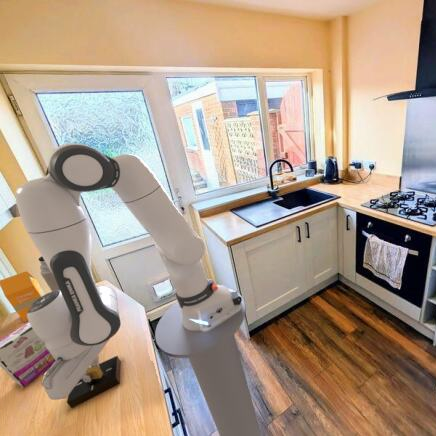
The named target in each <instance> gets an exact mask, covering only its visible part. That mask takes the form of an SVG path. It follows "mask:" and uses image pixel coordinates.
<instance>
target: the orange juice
mask: <svg viewBox="0 0 436 436" xmlns="http://www.w3.org/2000/svg"><path fill="white" fill-rule="evenodd" d="M0 288H1V290H2V293H3V295H4V297H5V298H6V300H7V301H8V302H9V304H10V305H11V307H12V308H13V309H14V311H15V312H16V313H17V315H18V316H19V317H20V318H21V320H22V321H23V323H26V322H27V321H28V318H27V312H28V309H29V308H30V306H31V305H32V304H33V303H34V302H35V301H36V300H37V299H39V298H40V297H42V296H43V295H45V294H46V293H45V291H44V290H43V288H42V287H41V285H40V284H39V282H38V281H37V279H36V278H35V277H34V276H33V275H32V274H30V272H28V271H27V270H25V271H23V272H20V273H17V274H15V275H12V276H8V277H6V278H2V279H0ZM28 322H29V321H28Z"/></svg>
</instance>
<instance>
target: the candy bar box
mask: <svg viewBox="0 0 436 436" xmlns="http://www.w3.org/2000/svg"><path fill="white" fill-rule="evenodd" d="M55 361H56V360H55V359H54V358H53V356H52V355H51V353H50V352H49V351H48V349H47V348H46V346H45V342H44V340H42V339H41V338H39V337H38V336H37V335H36V333H35V332H34V330H33V328H32V327H31V325H30V323H29V321H28V322H27V323H26V322H25V324H23V325H22V326H20V327H18V328H17V329H16V330H14V331H12V332H11V333H9V334H8V335H5V337H3V338H1V339H0V367H1V369H2V370H3V371H4V372H6V374H7V375H8V376H9V377H10V379H12V380H13V381H14V383H15V384H17V385H19V386H21V387H23V388H26V387H28V386H29V385H30V384H31V383H32V382H34V381H35V380H36V379H38V377H39V376H41V375H42V374H43V373H45V372H46V371H47V370H48V369H49V368H50V367H51V366H52V364H53V363H54V362H55Z"/></svg>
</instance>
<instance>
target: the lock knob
mask: <svg viewBox="0 0 436 436" xmlns="http://www.w3.org/2000/svg"><path fill="white" fill-rule="evenodd" d="M86 373H87V374H91V373H92V375H93V378H92V379H99V378H101V377H102V375H103V372H102V371H101V369H100V368H99V366H98V367H91V366H90V367H89V368H88V369H87V371H86Z"/></svg>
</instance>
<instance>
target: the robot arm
mask: <svg viewBox="0 0 436 436" xmlns="http://www.w3.org/2000/svg"><path fill="white" fill-rule="evenodd" d="M47 162H48V164H47V168H46V171H45V176H43V177H40V178H39V177H38V178H35V179H30V180H28V181H26V182H23V183H22V184H20V185H19V186H17V188H16V189H15V192H14V198H15V203H16V207H17V210H18V213H19V216H20V219H21V222H22V223H23V227H24V228H25V230H26V232H27V234H28V236H29V238H30V240H31V242H32V243H33V244H34V246H35V248H36V249H37V251H38V253H39V254H40V256H41V257H43V259H44V260H45V262H46V264H47V266H48V267H49V269H50V271H51V272H52V274H53V275H54V277H55V280H56V282H57V284H58V287H59V289H60V291H59V290H58V291H53V292H52V291H50V292H47V293H45V295H43V296H42V297H40V298H39V299H37V300H36V301H35V302H34V303H33V304H32V305H31V306H30V308H29V309H28V312H27V318H28V322H29V323H30V325H31V327H32V328H33V330H34V332H35V333H36V335H37V336H38V337H39V338H41V339H42V340H44V342H45V346H46V348H47V349H48V351H49V352H50V353H51V355H52V356H53V358H54V359H55V360H56V361H55V362H54V363H53V364H52V366H51V367H49V368H48V369H47V370H46V371H45V372H44V374H43V377H42V380H41V385H42V387H43V389H44V390H45V393H46V395H47V396H48V398H49V399H50V400H52V401H56V400H63V399H66V398H68V395H69V394H70V392H71V391H72V390H73V388H74V387H75V386H76V384H77V383H78V382H79V380H80V379H83V380H84V382H90V381H91V380H92V378H93V375H92V373H91V374H87V373H86V371H87V369H88V368H89V367H98V366H99V364H100V361H99V359H100V358H99V355H100V353H101V352H102V350H103V349H104V347H105V346H106V345H107V344H108V342H109V341H110V340H111V339H112V338H113V337H114V336H115V335H116V334H117V333H118V332H119V330H120V328H121V323H122V322H121V318H120V314H119V305H118V295H117V293H116V291H115V290H114V289H113V288H112V287H109V286H107V285H97V284H96V281H95V278H94V276H93V273H92V272H93V271H92V248H93V239H92V233H91V228H90V223H89V221H88V218H87V216H86V213H85V212H84V209H83V207H82V204H81V196H82V193H89V192H95V191H100V190H105V189H112V190H113V191H114V192H115V194H116V195H117V196H118V197H119V199H120V200H121V201H122V203H123V204H124V205H125V206H126V208H127V209H128V210H129V211H130V213H131V214H132V215H133V217H134V218H135V219H136V221H138V223H139V224H140V225H141V226H142V228H143V229H144V230H145V232H146V233H147V234H148V235H149V237H151V238H152V241H153V243H154V245H155V248H156V250H157V253H158V255H159V257H160V259H161V262H162V263H163V265H164V267H165V269H166V271H167V273H168V274H169V278H170V279H171V282H172V285H173V288H174V290H175V298H176V302H177V301H178V303H179V306H180V307H181V309H182V315H183V326H184V327H185V328H186V329H187V330H190V331H202V332H205V333H207V332H209V331H211V330H212V329H214V328H215V327H217V326H218V325H220V324H221V323H223V322H224V321H226V320H227V319H229V318H230V317H232V316H233V315H235V314H236V313H238V312H239V311H240V310H241V308H242V304H241V301H242V298H243V297H242V298H241V297H240V296H238V294H237V292H238V291H237V290H235V292H233V291H230V290H229V289H228V288H229V287H227V286H226V285H223V284H216V283H215V281H214V280H213V279H212V278H211V276H208V277H209V278H208V277H207V274H206V271H205V267H204V265H203V262H202V261H201V260H202V259H203V257H204V255H205V252H206V246H205V243H204V240H203V239H202V238H201V237H200V236H199V234H198V233H197V232H196V229H194V227H193V225H191V223H190V222H189V221H188V220H187V218H186V217H185V216H184V215H183V214H182V212H181V211H180V209H178V207H177V206H176V205H175V203H174V202H173V200H172V199H171V197H170V196H169V194H168V192H167V191H166V190H165V188H164V187H163V184H162V183H161V181H160V180H159V178H157V175H155V173H154V172H153V171H152V169H151V168H149V166H148V165H147V164H146V163H145V162H144V161H143V160H142V158H140V157H139V156H137V155H135V154H133V153H132V154H131V153H124V154H120V155H116V156H114V157H111V156H109V155H107V154H105V153H103V152H101V151H100V150H97V149H95V148H94V147H93V146H90V145H87V144H85V143H78V142H70V143H65V144H61V145H59V146H57V147H56V148H54V149H53V150H52V152H51V153H50V155H49V157H48V161H47ZM99 368H100V366H99Z"/></svg>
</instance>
